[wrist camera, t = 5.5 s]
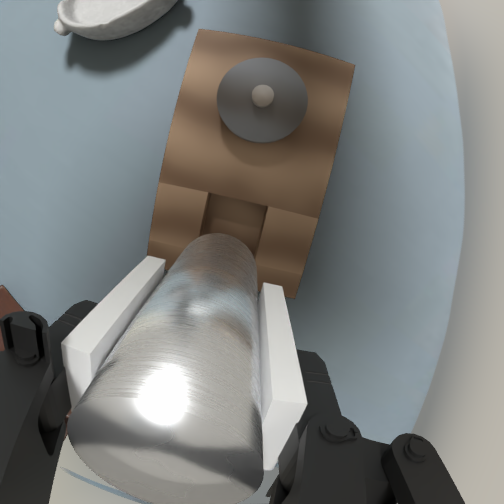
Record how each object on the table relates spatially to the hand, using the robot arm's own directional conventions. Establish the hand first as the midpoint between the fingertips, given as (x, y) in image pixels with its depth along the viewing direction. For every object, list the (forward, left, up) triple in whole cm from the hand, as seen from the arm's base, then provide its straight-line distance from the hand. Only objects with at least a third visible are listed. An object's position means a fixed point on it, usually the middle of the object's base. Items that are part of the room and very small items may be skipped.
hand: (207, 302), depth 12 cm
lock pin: (0, 0, -4) cm, 4 cm away
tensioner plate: (-6, 0, -18) cm, 19 cm away
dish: (-23, -17, -18) cm, 34 cm away
